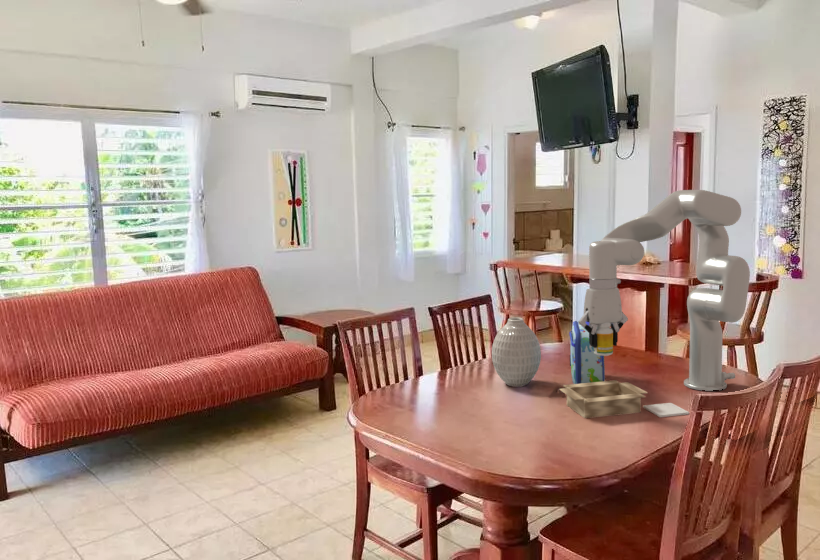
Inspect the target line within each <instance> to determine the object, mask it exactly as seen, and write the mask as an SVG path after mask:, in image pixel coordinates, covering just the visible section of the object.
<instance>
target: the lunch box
mask: <svg viewBox="0 0 820 560" xmlns="http://www.w3.org/2000/svg"><path fill="white" fill-rule="evenodd" d="M578 322H579V320H578V321H577V320H574V321H573V322H572V328H571V330H570V331H569V340H570V343H569V344H570V345H569V347H570V348H569V349H570V350H569V351H570V355H569V367H570V370H571V371H570V373H571V374H570V375H571V380H572V382H573V384H581V383H591V382H602V381H606V380H605V379H606V377H605V376H606V374H605V373H606V372H605V371H606V370H605V368H606V367H605V356H602V355H596V354H595V353H594V347H592V346H590V343H589V333H588V332H587V330H586V329H584V327H582V326H581V325H580V324H579V323H578ZM589 323H590V322H586V324H587V325H589Z"/></svg>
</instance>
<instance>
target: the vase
mask: <svg viewBox="0 0 820 560" xmlns="http://www.w3.org/2000/svg"><path fill="white" fill-rule="evenodd" d="M491 346H492V347H491V360H492V364H493V368H494V371H495V372H496V373H497V375H498V376H499V379H501V380H502V381H503V382H504V383H505V384H506V385H507V386H508V387H509V386H510V387H518V388H519V387H524V386H527V385H528V384H529V383H530V382H531V381H532V380H533V378H534V377H535V376H536V374H537V372H538V370H539V368H540V364H541V360H542V355H541V354H542V351H541V350H542V349H541V344H540V340H539V339H538V337H537V335H536V333H535V332H534V331H533V330H532V329H531V327H530V326H528V325H527V323H525V321H524V319H523V318H522V317H510V318H508V319H507V322H506V324H504V325H503V326H502V327H501V328H500V330H499V331H498V332H497V334H496V335H495V337H494V340H493V343H492V345H491Z"/></svg>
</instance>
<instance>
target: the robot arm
mask: <svg viewBox="0 0 820 560" xmlns="http://www.w3.org/2000/svg"><path fill="white" fill-rule="evenodd" d="M741 216H742V207H741V205H740V203H739V201H738V200H737V199H736V198H734V197H731V196H727V195H723V194H720V193H716V192H712V191H710V190H705V189H682V190H679V189H678V190H675V191H674V192H671V193H670V194H669V195H667V196H666V197H665V198H664V199H663V200H661V201H660V202H659V203H658V204H656V205H655V206H654V207H653V208H651V210H649V211H648V212H647V213H645V214H643V215H640V216H638V217H636V218H633V219H632V220H629V221H627V222H623V224H621V225H619V226H617V227H615V228H614V229H612V230H611V231H610V232H609V233H607V234H606V235H605V236H604V237H603V238H601V239H600V240H598V241H597V240H596V241H592V242H591V243H590V244H589V246H588V247H589V249H588V250H589V252H588V253H589V254H588V256H589V257H588V260H589V262H588V264H589V265H588V268H589V269H588V270H589V277H588V278H589V280H588V281H589V282H588V283H589V288H587V289H586V291H585V296H584V304H583V314H582V316H581V318H580V319H579V320H578V321H579V322H578V321H577V322H578V323H579V324H580V325H581V326H582V327H584V329H586V330H587V332H588V333H589V343H590V346H592V347H594V348H597V334H595V332H596V329H597V326H598V324H603V323H611V326H610V328H611V329H612V330H613V347H617V346H618V344H617V343H618V341H619V335H618V333H619V332H620V330H621V328H622V327H623V326H624V324H626V323H627V321H629V317H628V316H627V315H626V314H625V313H624V312H623V309H622V299H621V293H620V289H619V288H618V285H619V284H621V282H622V280H621V279H620V278H618V277H617V275H618V274H617V267H618V266H620V265H621V266H634V265H636V264H638V263H640V262H641V261H642V260H643V258H644V255H645V248H644V245H643V244H642V243H644V242H648V241H649V242H650V241H654V240H657V239H661V238H663V237H665V236H667V235H668V234H669V233H670V232H671V231H673V230H674V229H675V228H676V227H677V226H678V225H680V224H681V223H682V222H683V221H685V220H686V219H687V220H689V222H690V223H691V224H692V225H693V226H694V228H695V231H696V232H697V234H698V239H699V240H698V241H699V242H698V244H699V245H698V250H697V251H698V252H697V253H698V254H697V259H696V260H697V261H696V271H695V273H696V278H697V280H698V281H700V282H701V283H704V284H707V285H708V284H709V285H713V286H722V289H717V288H709V287H699V288H696V289H693V290H692V291H691V292H690V293H689V294H688V296H687V300H686V306H687V307H686V309H687V314H688V317H689V320H688V321H689V365H688V367H689V370H688V377H687V378H686V379H684V380H683V385H684V386H685V387H686V388H689V389H692V390H696V391H702V390H705V391H704V392H714V391H713V390H719V391H723V390H725V389H726V388H727V386H728V384H727V382H726V381H727V380H732V379H735V378H736V373H734V372H728V373H727V372H726V371H723V370H722V369H723V336H724V334H723V329H722V326H721V323H720V322H725V323H732V324H733V323H737V322H739V321H740V320H741V319H742V318H743V316H744V314H745V311H746V307H747V301H748V295H749V293H748V292H749V285H750V277H751V270H750V267H749V264H748V262H747V260H745V258H743V257H741V256H736V255H729V245H730V244H729V243H730V238H729V233H728V231H727V230H726V227H729V226H734V225H735V224H736V223H737V222H738V221H739V220H740V218H741ZM586 322H590V323H589V325H587V324H586ZM722 389H723V390H722Z"/></svg>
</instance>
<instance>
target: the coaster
mask: <svg viewBox="0 0 820 560" xmlns="http://www.w3.org/2000/svg"><path fill="white" fill-rule="evenodd" d="M642 408H643V409H645V410H647V411H649V412H650V413H652V414H654V415H655V416H657V417H659V418H665V417H674V416H685V415H686V416H687V415H690V411H688V410H686V409H684V408H682V407H680V406H678V405H676V404H674V403H672V402H665V403H663V402H662V403H655V404H647V405H646V404H645V405H644V404H643V406H642Z"/></svg>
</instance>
